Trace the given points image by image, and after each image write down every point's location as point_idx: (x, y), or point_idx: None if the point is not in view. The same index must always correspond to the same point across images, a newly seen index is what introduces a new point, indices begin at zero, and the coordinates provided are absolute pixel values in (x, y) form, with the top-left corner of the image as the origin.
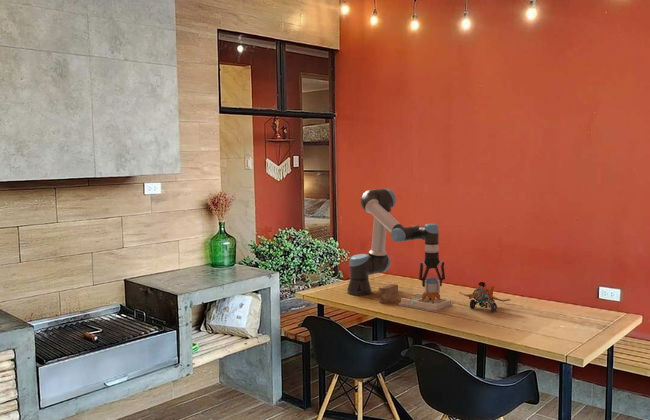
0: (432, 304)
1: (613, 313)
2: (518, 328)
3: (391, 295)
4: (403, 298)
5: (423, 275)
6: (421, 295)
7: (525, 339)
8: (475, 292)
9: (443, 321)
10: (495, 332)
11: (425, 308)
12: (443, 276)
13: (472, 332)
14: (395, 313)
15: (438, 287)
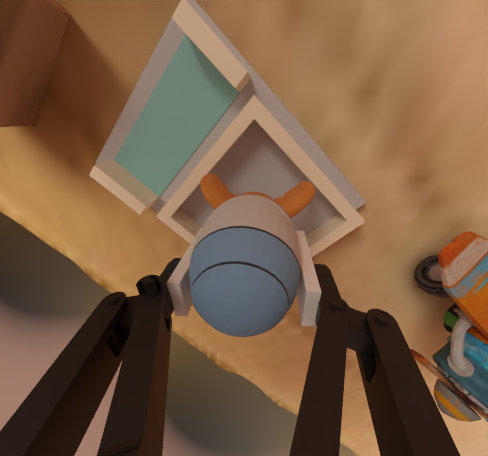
0: None
1: None
2: None
3: (5, 73)
4: (100, 177)
5: (131, 334)
6: (211, 61)
7: (377, 443)
8: (449, 414)
9: (253, 352)
10: (344, 416)
11: None
12: (371, 377)
13: (295, 408)
14: (113, 271)
15: None
